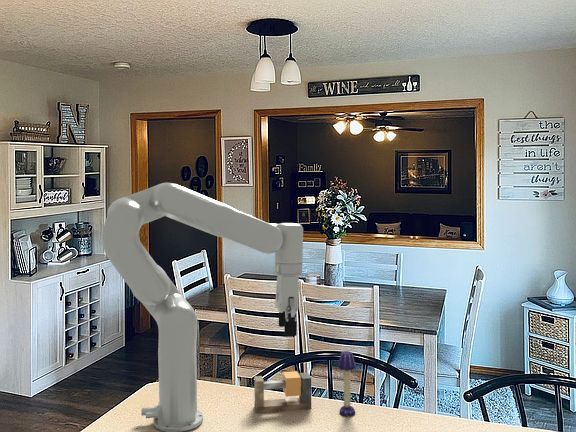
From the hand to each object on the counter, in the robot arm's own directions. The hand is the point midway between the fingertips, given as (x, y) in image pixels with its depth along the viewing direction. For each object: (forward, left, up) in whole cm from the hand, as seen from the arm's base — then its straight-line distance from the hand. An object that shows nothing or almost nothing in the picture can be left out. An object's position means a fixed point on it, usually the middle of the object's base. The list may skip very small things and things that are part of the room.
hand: (287, 331), depth 155 cm
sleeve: (+1, -1, -17) cm, 17 cm away
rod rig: (-1, -1, -21) cm, 21 cm away
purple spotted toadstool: (+15, -8, -21) cm, 27 cm away
